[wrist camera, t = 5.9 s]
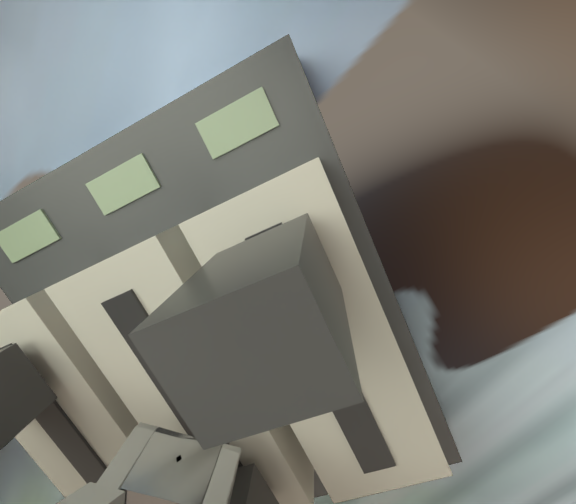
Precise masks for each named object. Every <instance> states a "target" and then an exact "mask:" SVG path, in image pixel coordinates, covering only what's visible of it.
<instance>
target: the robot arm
mask: <svg viewBox="0 0 576 504" xmlns="http://www.w3.org/2000/svg"><path fill="white" fill-rule="evenodd" d="M241 450H242V448H240V447H236V446H232V445H228V444H222V445H219V446H216V447H212V448H209V449H206V450H203V449H202V447H201V446H200V444H199V443H198V441H197V440H196V438H195V437H194V436H192V435H185V434H182V433H178V432H175V431H171V430H168V429H164V428H161V427H157V426H153V425H149V424H146V423H142V422H140V423H139V424H138V425H137V426H136V427H135V428H134V429H133V431H132V432H131V434H130V435H129V436H128V438H127V439H126V441H125V442H124V444H123V445H122V447H121V448H120V449H119V451H118V452H117V454H116V455H115V457H114V458H113V460H112V461H111V463H110V464H109V465H108V467H107V468H106V470H105V471H104V473H103V474H102V476H101V477H100V479H99V480H98V481H97V483H93V482H89V483H88V484H86V485H85V486H83V487H81V488H80V489H78V490H77V491H75V492H74V493H72V494H70V495H69V496H67V497H66V498H64V499H63V500H61V501H59V502H58V503H56V504H230V500H231V495H232V491H233V486H234V482H235V478H236V473H237V469H238V464H239V460H240V455H241Z"/></svg>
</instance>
